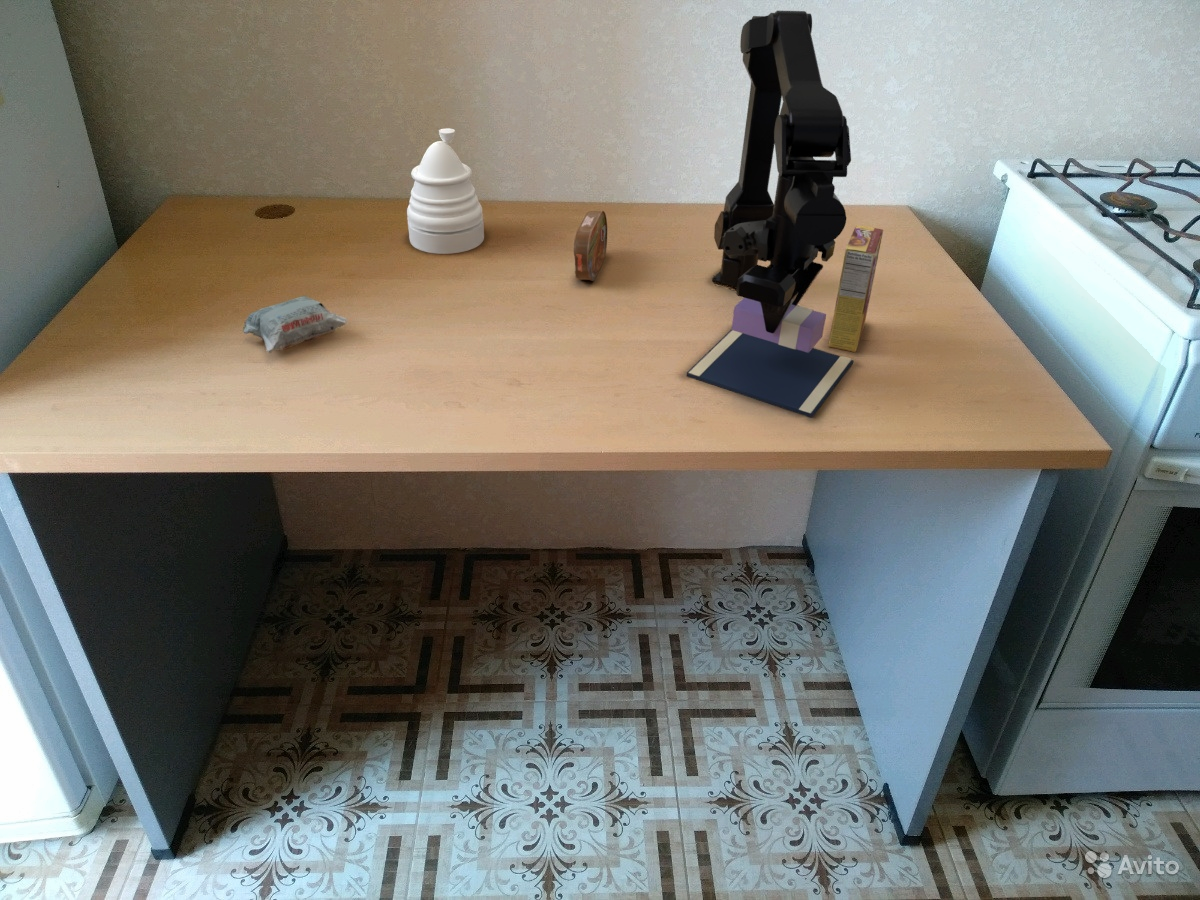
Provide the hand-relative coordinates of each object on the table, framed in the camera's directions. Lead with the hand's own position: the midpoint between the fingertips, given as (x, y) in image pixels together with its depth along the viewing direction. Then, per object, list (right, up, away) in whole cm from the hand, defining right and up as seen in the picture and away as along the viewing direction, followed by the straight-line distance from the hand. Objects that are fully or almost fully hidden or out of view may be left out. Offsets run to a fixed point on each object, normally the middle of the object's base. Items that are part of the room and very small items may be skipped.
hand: (778, 323), depth 118 cm
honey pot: (-50, +20, +37) cm, 65 cm away
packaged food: (-67, -1, +8) cm, 67 cm away
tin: (-25, +13, +28) cm, 40 cm away
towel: (0, -6, +4) cm, 7 cm away
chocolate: (0, -1, +1) cm, 2 cm away
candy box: (+12, 0, +12) cm, 18 cm away
